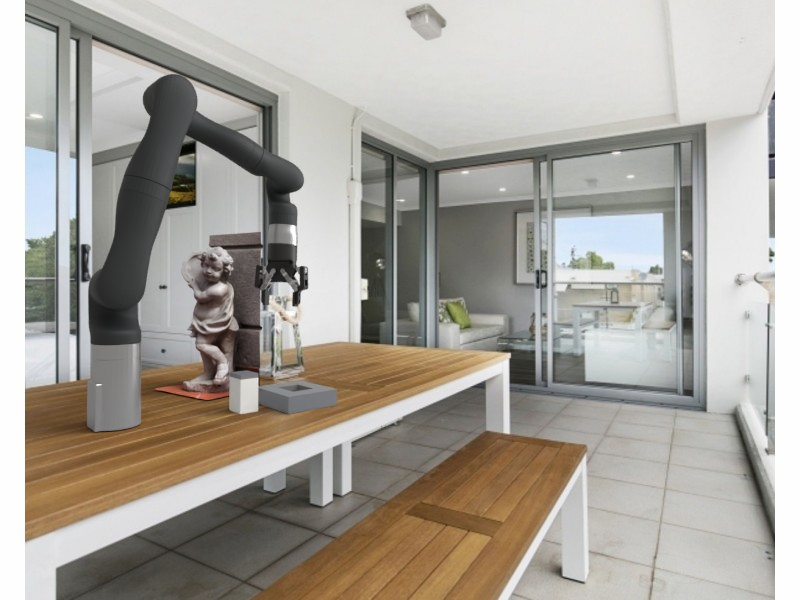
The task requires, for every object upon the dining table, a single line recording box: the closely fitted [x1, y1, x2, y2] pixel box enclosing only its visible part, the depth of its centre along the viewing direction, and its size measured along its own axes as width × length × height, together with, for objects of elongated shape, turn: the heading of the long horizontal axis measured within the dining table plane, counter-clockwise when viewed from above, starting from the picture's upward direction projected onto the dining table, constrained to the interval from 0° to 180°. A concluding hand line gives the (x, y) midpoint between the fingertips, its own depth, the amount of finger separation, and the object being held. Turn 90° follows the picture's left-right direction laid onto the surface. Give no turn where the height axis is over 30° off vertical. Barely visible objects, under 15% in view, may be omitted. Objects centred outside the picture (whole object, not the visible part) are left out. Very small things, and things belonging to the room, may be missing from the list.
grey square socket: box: [258, 379, 338, 415], centre depth 127 cm, size 14×16×4 cm
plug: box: [228, 370, 260, 415], centre depth 119 cm, size 4×6×9 cm
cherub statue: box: [155, 231, 264, 401], centre depth 142 cm, size 23×19×45 cm
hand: (280, 305), depth 131 cm, fingers open, 8 cm apart
